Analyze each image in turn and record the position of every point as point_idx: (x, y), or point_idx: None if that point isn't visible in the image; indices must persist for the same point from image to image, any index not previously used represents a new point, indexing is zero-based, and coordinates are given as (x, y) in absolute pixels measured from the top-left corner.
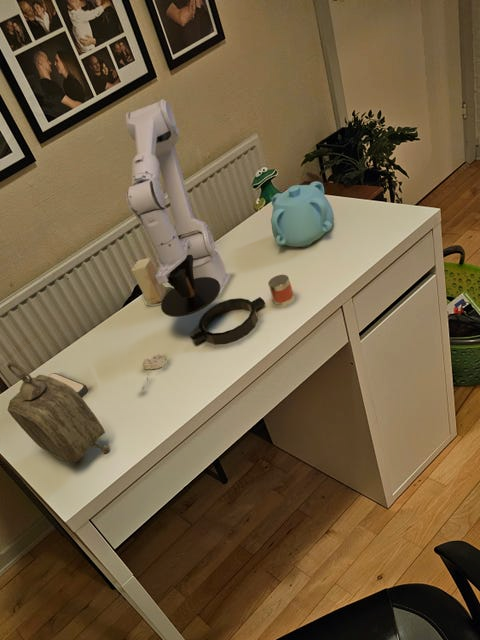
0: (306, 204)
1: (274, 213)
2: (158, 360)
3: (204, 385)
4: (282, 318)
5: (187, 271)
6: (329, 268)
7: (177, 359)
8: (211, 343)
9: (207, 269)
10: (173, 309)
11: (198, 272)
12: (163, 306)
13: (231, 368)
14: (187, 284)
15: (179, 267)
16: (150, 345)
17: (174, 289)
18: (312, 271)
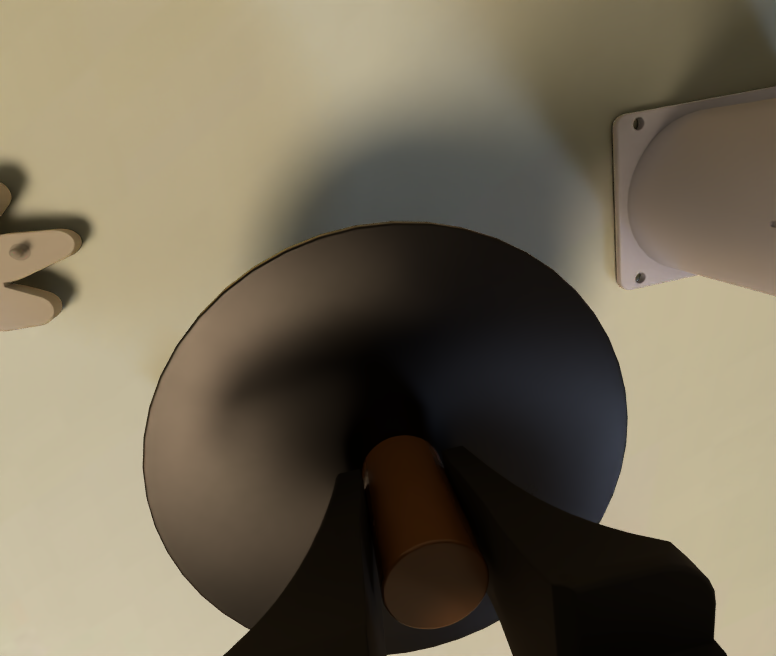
0: None
1: None
2: (5, 298)
3: (4, 589)
4: (455, 647)
5: (516, 646)
6: (732, 649)
7: (110, 351)
8: None
9: (774, 291)
10: (213, 442)
11: (750, 241)
12: (237, 312)
13: (140, 631)
14: (383, 628)
15: (536, 643)
16: (166, 71)
17: (482, 262)
18: (728, 604)
